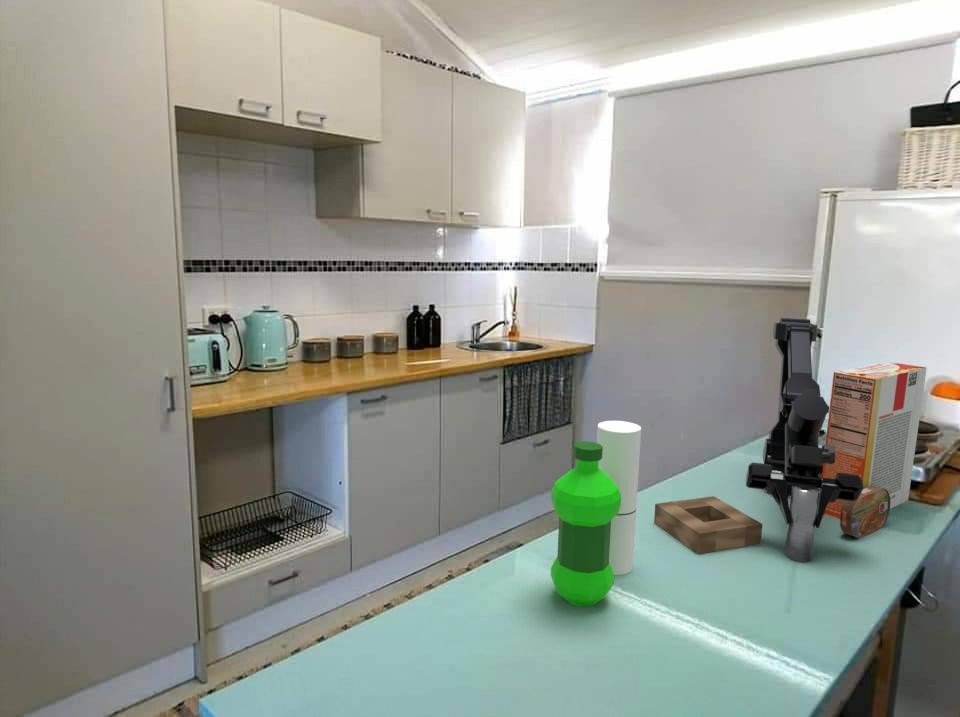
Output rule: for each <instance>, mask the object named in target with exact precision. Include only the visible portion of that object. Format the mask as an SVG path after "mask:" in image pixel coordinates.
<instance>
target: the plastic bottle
mask: <svg viewBox="0 0 960 717" xmlns="http://www.w3.org/2000/svg"><path fill="white" fill-rule="evenodd" d="M602 452H603V447H602V446H601V444H598V443H597V442H595V441H579V442H578V441H577V442H576V443H574V444H573V457H574V459H575V460H576V466H575V467H573V468H572V469H570V470H569V471H567V472H566V473H565V474H564V475H562V476H561V477H559V479H557V480H556V481H555V482H554V484H553V486H552V488H551V502H552V508H553V509H554V511H555V513H556V514H557V516H558V537H557V556H556V557H555V559H554V561H553V563H552V565H551V568H550V577H551V580H552V582H553V585H554V588H555V590H556V592H557V593H558V595H560V596H561V597H562V598H564V599H565V601H566V602H568V603H569V604H571V605H573V606H577V607H582V608H583V607H584V608H586V607H587V608H588V607H591V606H595V605H596V604H597V603H598V602H601V601H602V600H603V599H605V598H606V597H607V595H608V594H609V592H610V591H611V590H612V587H613V586H614V584H615V575H614V573H613V570H612V568H611V566H610V564H609V550H610V532H611V520H612V519H613V518H614V517H615V516H616V515H617V514H618V512H619V509H620V506H621V495H620V492H619V489H618V487H617V486H616V485H615V483H614V482H613V481H612V480H611V479H610V478H609V477H608V476H607V475H606V474H605V473H604V472H603V471H602V470H600V469H599V468H598V461H599V460H601V459H602Z"/></svg>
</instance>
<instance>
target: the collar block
mask: <svg viewBox="0 0 960 717" xmlns="http://www.w3.org/2000/svg"><path fill="white" fill-rule="evenodd" d="M653 523H654V524H655V525H656V526H658V527H659V528H661V529H662V530H664V531H665V532H666V533H668V534H669V535H670V536H672V537H673V538H675V539H676V541H677V540H678V541H679V542H680V543H681V544H683V545H685V547H687V548H688V549H690V550H691V551H693V552H694V553H695V554H697V555H701V554H706V553H707V554H708V553H713V552H719V551H721V552H722V551H725V550H733V549H738V548H745V547H750V546H755V545H756V546H757V545H761V544H762V534H763V525H764V524H763V522H760V521H758V520H756V519H755V518H753V517H751V516H749V515H748V514H746V513H744V512H743V511H741V510H739V509H738V508H735V507H734V506H733V505H731V504H728V503H726V502H725V501H723V500H721V499H719V498H718V497H717V496H712V495H711V496H705V497H696V498H689V499H683V500H681V499H680V500H673V501H667V502H661V503H655V504H654V517H653Z"/></svg>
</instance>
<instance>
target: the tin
mask: <svg viewBox="0 0 960 717" xmlns="http://www.w3.org/2000/svg"><path fill="white" fill-rule="evenodd" d="M890 510H891V509H890V495H889V493H888V491H887V490H886V489H884V488H878V487H874V486H869V487H867V488H864V489H863V490H862V492H861V494H860V495H859V497H858V499H857V500H856V501H848V500H844V502H843V504H842V506H841V515H840V519H839V520H840V521H839V523H840V524H839V527H840V529H841V532H842V533H844V534H846V535H848V536H850V537H854V538H856V539H862V538H864V537H866V536H868V535H870V534H872V533H874V532H877V531H878V530H880V529H882V528H883V526H885V524H886V522H888V521H887V520H888V517H889V515H890Z"/></svg>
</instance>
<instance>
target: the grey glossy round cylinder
mask: <svg viewBox="0 0 960 717" xmlns="http://www.w3.org/2000/svg"><path fill="white" fill-rule="evenodd" d="M819 493H820V488H817V487H814V486H812V485H807V484H793V485H792V489H791V495H790V498H789V499H790V500H789V511H790V523H789V524H787V529H786V537H785V547H784V556H785V557H786V558H788V559H789V560H791V561H793V562H797V563H810V562H812V560H813V550H814V541H815V534H816V517H817V508H818V499H819Z"/></svg>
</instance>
